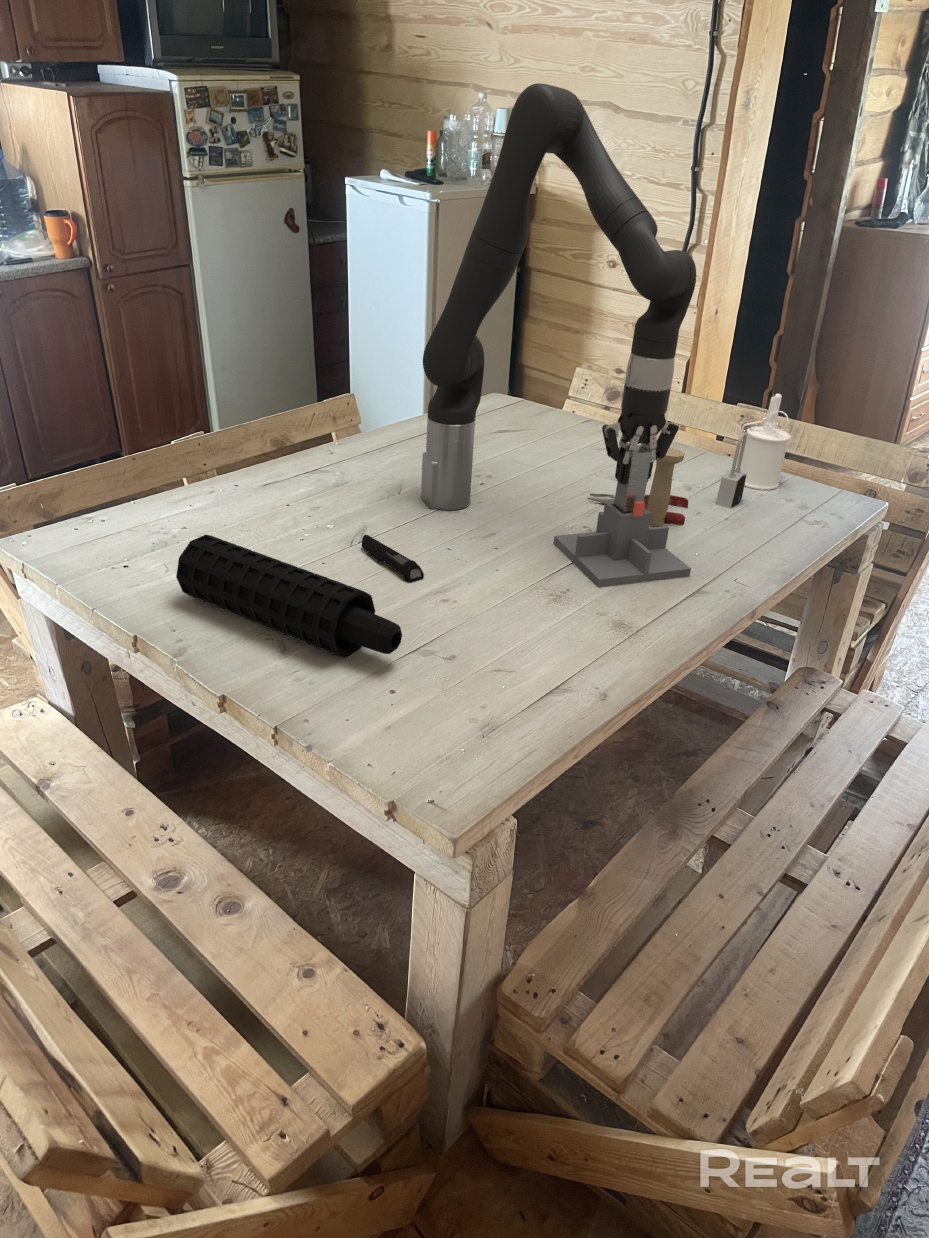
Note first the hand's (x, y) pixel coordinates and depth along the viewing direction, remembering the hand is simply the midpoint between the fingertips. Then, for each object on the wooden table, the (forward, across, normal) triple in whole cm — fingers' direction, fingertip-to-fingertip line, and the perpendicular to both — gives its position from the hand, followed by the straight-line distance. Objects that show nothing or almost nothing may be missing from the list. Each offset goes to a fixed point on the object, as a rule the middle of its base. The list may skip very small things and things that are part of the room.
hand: (631, 481), depth 155 cm
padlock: (+15, -37, -20) cm, 45 cm away
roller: (+15, +61, +10) cm, 64 cm away
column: (+11, 0, 0) cm, 11 cm away
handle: (+15, -15, -13) cm, 25 cm away
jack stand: (+15, 0, 0) cm, 15 cm away
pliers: (+16, -17, -22) cm, 32 cm away
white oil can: (+15, -50, -29) cm, 60 cm away
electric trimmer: (+15, +41, -7) cm, 44 cm away
